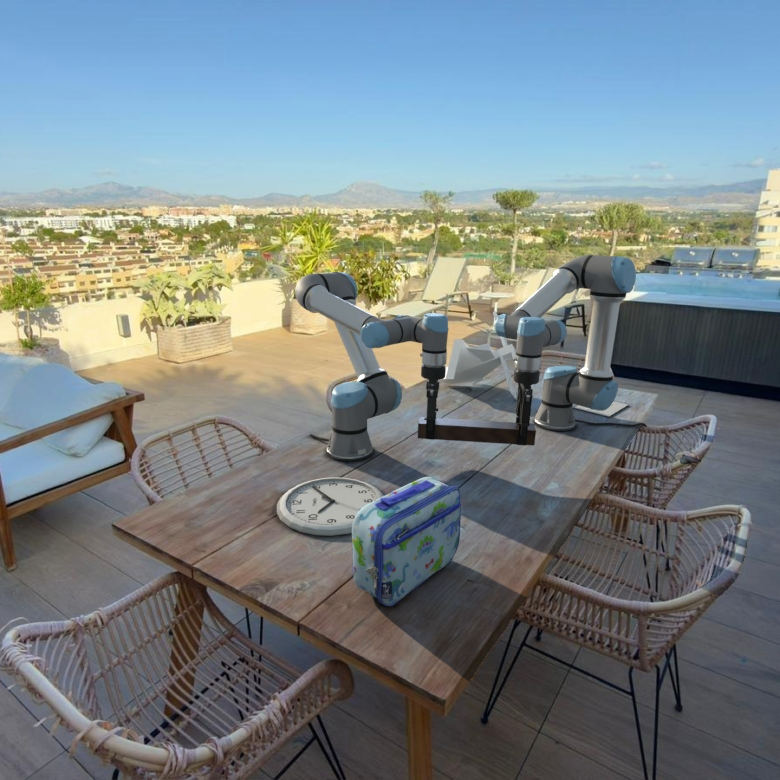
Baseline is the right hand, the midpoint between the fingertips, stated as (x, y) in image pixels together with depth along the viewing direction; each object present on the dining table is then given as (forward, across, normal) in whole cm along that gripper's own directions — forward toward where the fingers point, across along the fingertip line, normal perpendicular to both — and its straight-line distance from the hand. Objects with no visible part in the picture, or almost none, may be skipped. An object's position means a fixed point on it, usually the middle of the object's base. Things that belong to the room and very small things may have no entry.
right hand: (520, 440), depth 164 cm
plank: (0, 0, -14) cm, 14 cm away
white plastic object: (+10, -80, -8) cm, 81 cm away
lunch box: (+10, +59, -30) cm, 67 cm away
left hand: (0, 0, -28) cm, 28 cm away
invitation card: (+10, -68, +43) cm, 81 cm away
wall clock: (+10, +31, -53) cm, 62 cm away
